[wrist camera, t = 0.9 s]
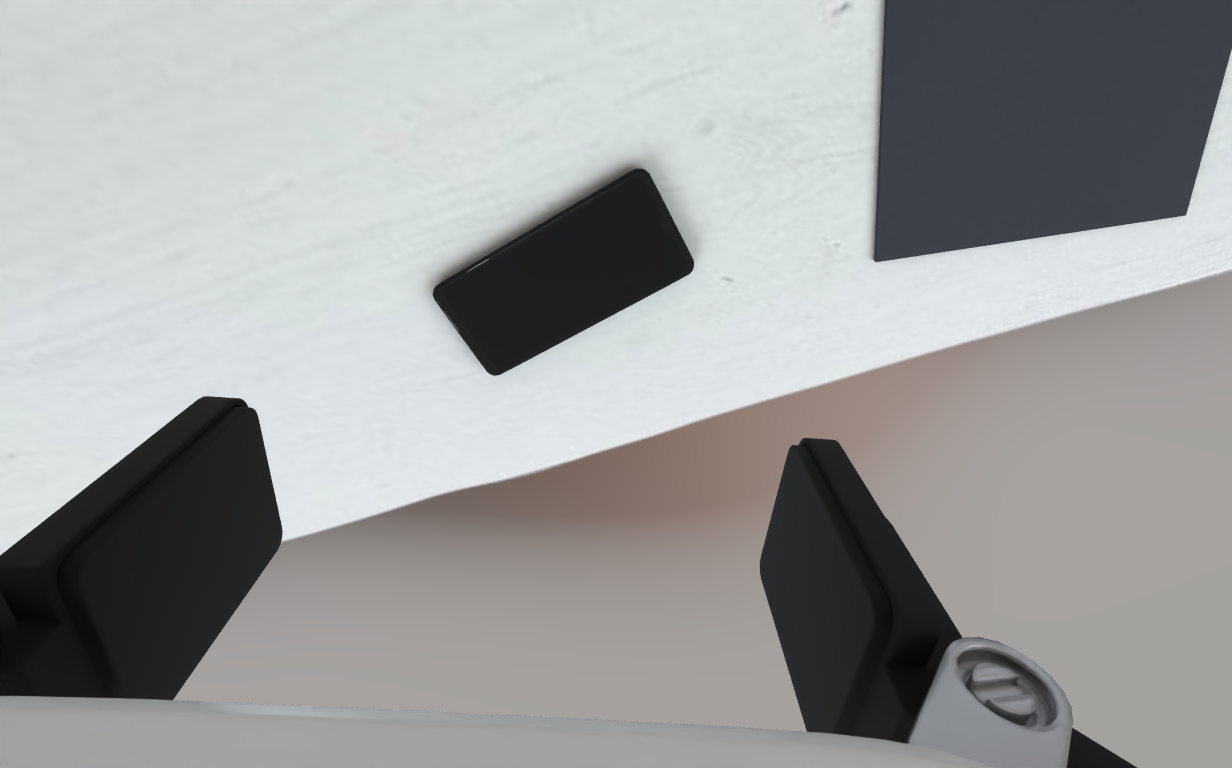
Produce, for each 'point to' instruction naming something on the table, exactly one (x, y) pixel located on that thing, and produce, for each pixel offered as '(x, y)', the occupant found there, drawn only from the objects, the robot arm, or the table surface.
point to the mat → (1041, 116)
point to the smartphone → (566, 274)
